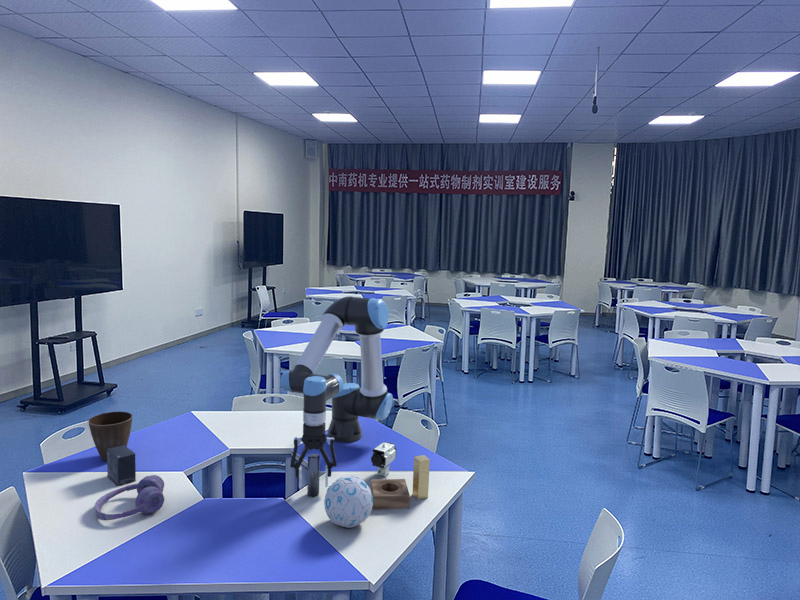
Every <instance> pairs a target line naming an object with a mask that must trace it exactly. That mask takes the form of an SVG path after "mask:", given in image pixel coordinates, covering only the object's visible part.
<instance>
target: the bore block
mask: <svg viewBox="0 0 800 600" xmlns="http://www.w3.org/2000/svg"><path fill="white" fill-rule="evenodd" d="M370 490H371V493H372V497H373V505H372V510H391V509H392V510H394V509H396V510H397V509H401V510H402V509H410V491H409V489H408V486H407V481H406V478H385V479H384V478H383V479H382V478H381V479H380V478H379V479H377V478H376V479H371V480H370Z"/></svg>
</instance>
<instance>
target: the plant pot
mask: <svg viewBox="0 0 800 600" xmlns="http://www.w3.org/2000/svg"><path fill="white" fill-rule="evenodd" d="M132 425H133V414H132V413H131V412H128V411H110V412H109V411H108V412H104V413H100V414H96V415H93V416H91V417H90V418H89V419H88V427H89V430H90V431H89V432H90V434H91V437H92V440H93V444H94V446H95V448H96V451H97V453H98V455H99V456H100V458H101V460H102V461H103V462H107V449H109V448H114V447H118V446H122V445H125V446H126V447H127V448H128V444H129V440H130V436H131V432H132V431H131V430H132Z"/></svg>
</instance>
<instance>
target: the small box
mask: <svg viewBox="0 0 800 600" xmlns="http://www.w3.org/2000/svg"><path fill="white" fill-rule="evenodd" d="M106 462H107V465H106V466H107V467H106V469H107V470H106V471H107V478H108V479H109V480H110V481H112V483H114V484H115V485H116V486H117V487H120V486H123V485H126V484H130V483H134V482H136V481H137V479H136V478H137V477H136V476H137V475H136V472H137V471H136V452H134V451H133V450H132V449H130V448H128V446H127V447H126V446H125V445H122V446H118V447H114V448H109V449H107V461H106Z"/></svg>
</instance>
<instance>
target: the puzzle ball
mask: <svg viewBox="0 0 800 600" xmlns="http://www.w3.org/2000/svg"><path fill="white" fill-rule="evenodd" d="M324 510H325V513H326V515H327V517H328V518H329V521H331V523H333V524H334V525H337V526H340V527H342V528H346V529H350V528H354V527H356V526H359V525H360V524H362V523H364V522H365V521H367V520H366V519H368V518H369V516H370V514H371V511H372V510H373V497H372V493H371V487H370V486H369V485H368V484H367V483H366V482H365V481H364V480H363V479H360V478H359V477H357V476H352V475H348V476H346V475H345V476H343V477H340V478H338V479H336V480H335V481H334V482H332V483H331V485H329V487H327V489H326V492H325V495H324Z"/></svg>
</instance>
